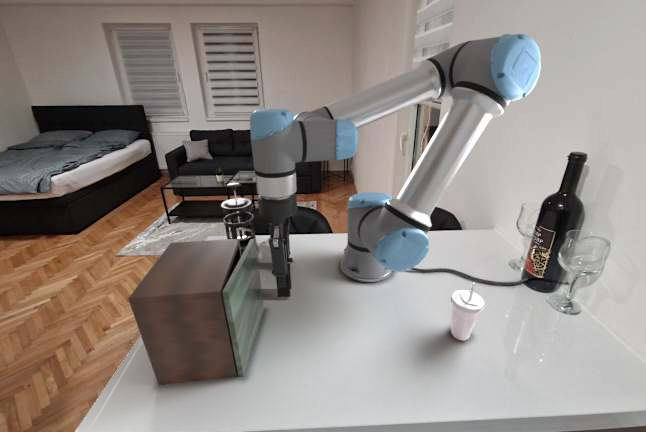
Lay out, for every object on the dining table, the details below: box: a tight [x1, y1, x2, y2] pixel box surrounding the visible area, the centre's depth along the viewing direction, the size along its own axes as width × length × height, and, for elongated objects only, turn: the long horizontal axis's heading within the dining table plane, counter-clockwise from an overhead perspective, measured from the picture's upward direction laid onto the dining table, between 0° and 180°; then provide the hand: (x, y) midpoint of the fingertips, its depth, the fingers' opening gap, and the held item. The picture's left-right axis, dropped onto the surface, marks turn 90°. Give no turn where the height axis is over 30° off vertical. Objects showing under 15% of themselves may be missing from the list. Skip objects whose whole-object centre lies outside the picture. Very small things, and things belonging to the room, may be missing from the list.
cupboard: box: [127, 239, 242, 386], centre depth 60 cm, size 14×18×20 cm
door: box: [222, 239, 291, 377], centre depth 61 cm, size 8×18×20 cm, turn 0°
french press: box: [220, 182, 259, 255], centre depth 95 cm, size 12×9×23 cm
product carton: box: [259, 238, 272, 258], centre depth 91 cm, size 6×6×7 cm
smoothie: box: [450, 282, 485, 342], centre depth 64 cm, size 6×6×14 cm
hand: (284, 292), depth 68 cm, fingers closed on door, 2 cm apart
